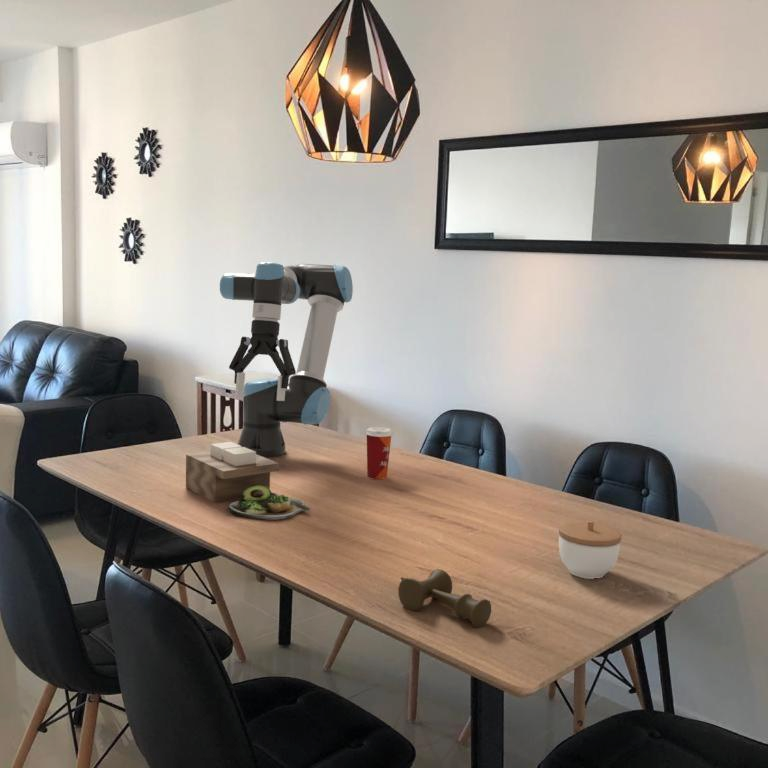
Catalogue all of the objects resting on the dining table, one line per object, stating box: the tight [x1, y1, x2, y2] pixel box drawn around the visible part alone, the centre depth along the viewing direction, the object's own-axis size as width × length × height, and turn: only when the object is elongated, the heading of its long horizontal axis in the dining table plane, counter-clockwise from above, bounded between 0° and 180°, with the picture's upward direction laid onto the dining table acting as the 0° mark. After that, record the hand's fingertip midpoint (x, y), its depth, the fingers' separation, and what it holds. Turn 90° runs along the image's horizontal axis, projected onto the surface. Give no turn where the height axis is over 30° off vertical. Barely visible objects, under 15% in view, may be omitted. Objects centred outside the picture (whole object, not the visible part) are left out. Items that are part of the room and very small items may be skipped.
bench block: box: [185, 450, 280, 503], centre depth 220 cm, size 20×16×9 cm
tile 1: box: [209, 441, 242, 460], centre depth 222 cm, size 6×6×3 cm
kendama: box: [397, 568, 492, 628], centre depth 153 cm, size 6×10×20 cm
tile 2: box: [224, 447, 256, 466], centre depth 216 cm, size 6×6×3 cm
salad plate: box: [227, 485, 311, 521], centre depth 207 cm, size 19×18×5 cm
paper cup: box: [365, 426, 393, 480], centre depth 241 cm, size 8×8×14 cm
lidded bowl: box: [558, 520, 623, 580], centre depth 174 cm, size 13×13×11 cm
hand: (259, 398), depth 228 cm, fingers open, 13 cm apart
